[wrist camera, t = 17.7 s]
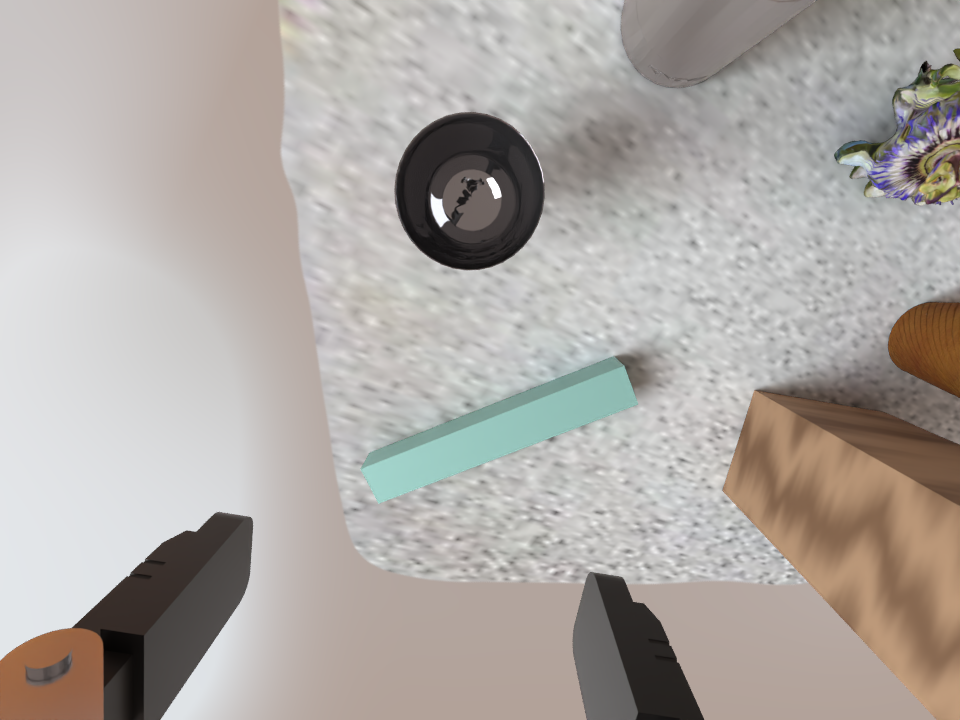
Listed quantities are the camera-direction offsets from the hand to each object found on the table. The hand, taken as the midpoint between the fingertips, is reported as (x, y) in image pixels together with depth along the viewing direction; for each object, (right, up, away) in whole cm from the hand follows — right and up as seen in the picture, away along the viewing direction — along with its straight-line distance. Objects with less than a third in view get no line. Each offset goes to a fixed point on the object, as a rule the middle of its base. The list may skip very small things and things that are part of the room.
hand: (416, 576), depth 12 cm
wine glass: (+1, +17, +29) cm, 34 cm away
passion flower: (+35, +23, +27) cm, 50 cm away
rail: (+3, -1, +34) cm, 34 cm away
